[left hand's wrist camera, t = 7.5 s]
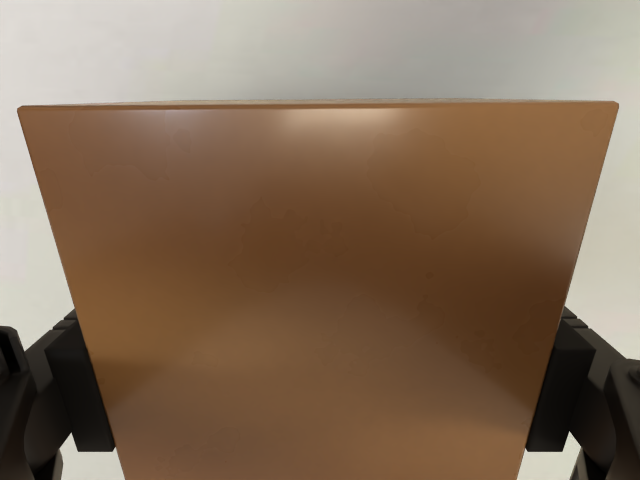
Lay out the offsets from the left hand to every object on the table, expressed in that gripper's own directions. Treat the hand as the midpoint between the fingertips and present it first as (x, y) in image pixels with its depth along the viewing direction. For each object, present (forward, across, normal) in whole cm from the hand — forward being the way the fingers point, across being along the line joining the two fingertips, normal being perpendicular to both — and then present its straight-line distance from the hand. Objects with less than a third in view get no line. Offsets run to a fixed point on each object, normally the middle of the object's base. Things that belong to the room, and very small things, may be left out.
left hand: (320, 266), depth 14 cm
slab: (+1, 0, -24) cm, 24 cm away
